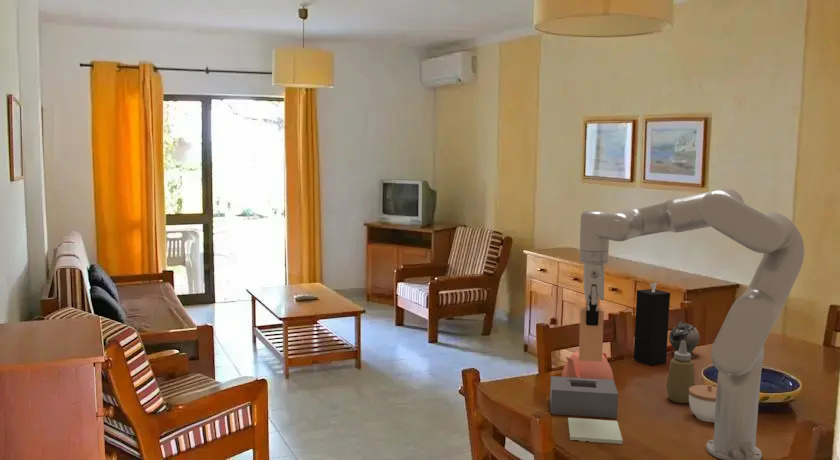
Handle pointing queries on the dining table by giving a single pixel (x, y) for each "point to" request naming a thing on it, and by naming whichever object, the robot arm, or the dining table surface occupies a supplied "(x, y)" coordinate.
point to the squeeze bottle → (680, 375)
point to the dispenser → (583, 397)
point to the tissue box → (651, 326)
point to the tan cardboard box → (591, 338)
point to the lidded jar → (703, 401)
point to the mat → (594, 430)
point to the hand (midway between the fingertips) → (591, 322)
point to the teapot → (587, 368)
